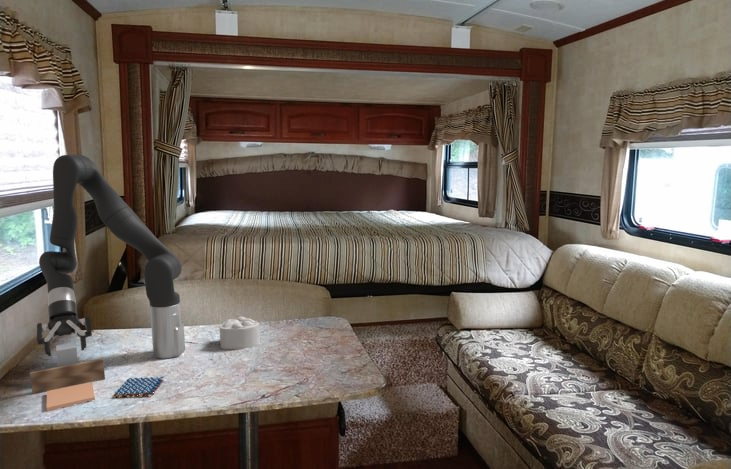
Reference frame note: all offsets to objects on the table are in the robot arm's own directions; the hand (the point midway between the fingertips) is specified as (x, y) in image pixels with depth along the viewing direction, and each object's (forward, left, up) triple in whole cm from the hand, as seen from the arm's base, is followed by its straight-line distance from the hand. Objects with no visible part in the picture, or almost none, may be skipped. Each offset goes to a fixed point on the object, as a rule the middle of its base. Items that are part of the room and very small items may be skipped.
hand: (66, 352), depth 150 cm
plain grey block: (-1, +2, -8) cm, 8 cm away
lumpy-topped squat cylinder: (-45, -27, -8) cm, 53 cm away
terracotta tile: (-8, +13, -8) cm, 18 cm away
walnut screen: (-4, +6, -8) cm, 11 cm away
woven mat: (-25, +9, -8) cm, 28 cm away
